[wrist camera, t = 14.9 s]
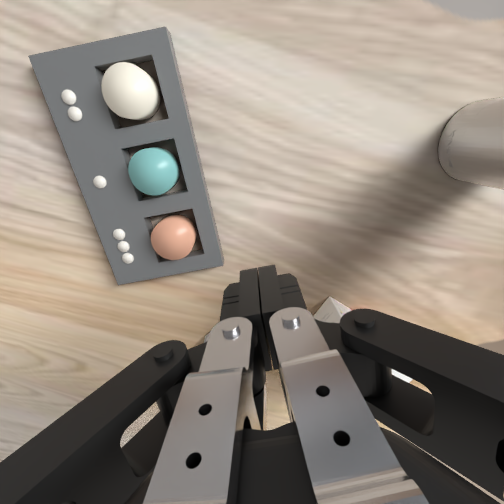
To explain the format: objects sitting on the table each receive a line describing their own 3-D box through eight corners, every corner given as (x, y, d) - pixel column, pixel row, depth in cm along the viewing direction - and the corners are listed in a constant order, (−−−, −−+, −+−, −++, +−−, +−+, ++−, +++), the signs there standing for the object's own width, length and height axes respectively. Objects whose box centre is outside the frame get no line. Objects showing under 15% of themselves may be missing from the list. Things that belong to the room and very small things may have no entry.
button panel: (170, 33, 31) (165, 25, 29) (224, 259, 41) (223, 266, 39) (40, 60, 32) (26, 55, 30) (123, 278, 41) (117, 285, 39)
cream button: (152, 64, 32) (143, 57, 29) (166, 115, 34) (159, 113, 31) (106, 73, 32) (93, 67, 29) (122, 124, 34) (111, 123, 31)
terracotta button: (191, 210, 38) (187, 216, 35) (201, 247, 39) (198, 255, 37) (152, 218, 38) (145, 224, 35) (163, 254, 39) (158, 263, 37)
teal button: (173, 143, 35) (167, 144, 32) (184, 186, 36) (180, 190, 34) (131, 151, 35) (121, 153, 32) (144, 194, 37) (136, 199, 34)
